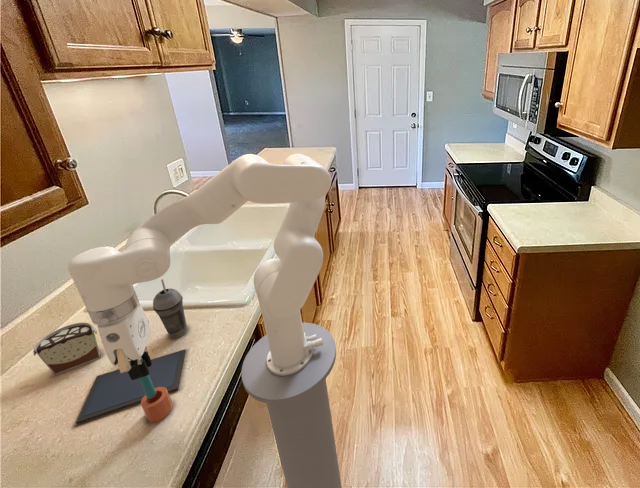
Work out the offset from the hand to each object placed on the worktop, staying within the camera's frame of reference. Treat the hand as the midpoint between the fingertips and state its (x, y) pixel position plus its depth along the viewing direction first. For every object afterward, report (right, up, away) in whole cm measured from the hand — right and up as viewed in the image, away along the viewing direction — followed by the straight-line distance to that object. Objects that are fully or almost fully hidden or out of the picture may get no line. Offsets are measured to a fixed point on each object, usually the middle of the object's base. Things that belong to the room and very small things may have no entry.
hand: (142, 371), depth 73 cm
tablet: (-10, -10, +12) cm, 19 cm away
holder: (0, -12, +5) cm, 13 cm away
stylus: (0, -7, +3) cm, 8 cm away
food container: (-33, -7, +20) cm, 39 cm away
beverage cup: (-10, -4, +28) cm, 30 cm away
